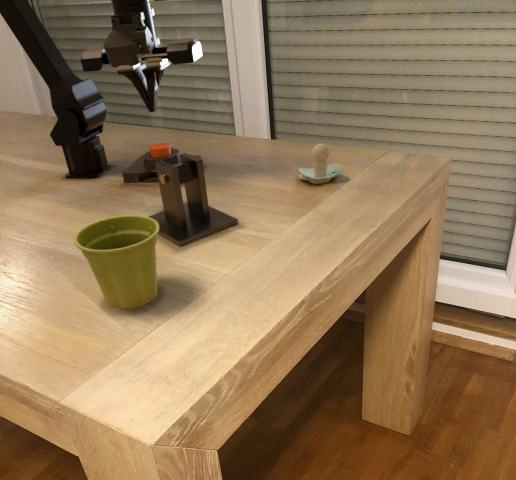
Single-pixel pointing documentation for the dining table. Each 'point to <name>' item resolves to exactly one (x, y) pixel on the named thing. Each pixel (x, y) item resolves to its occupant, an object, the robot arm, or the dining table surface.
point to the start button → (160, 150)
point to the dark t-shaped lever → (183, 168)
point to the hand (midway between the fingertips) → (152, 111)
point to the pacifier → (320, 166)
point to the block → (150, 165)
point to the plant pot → (122, 258)
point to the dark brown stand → (187, 205)
